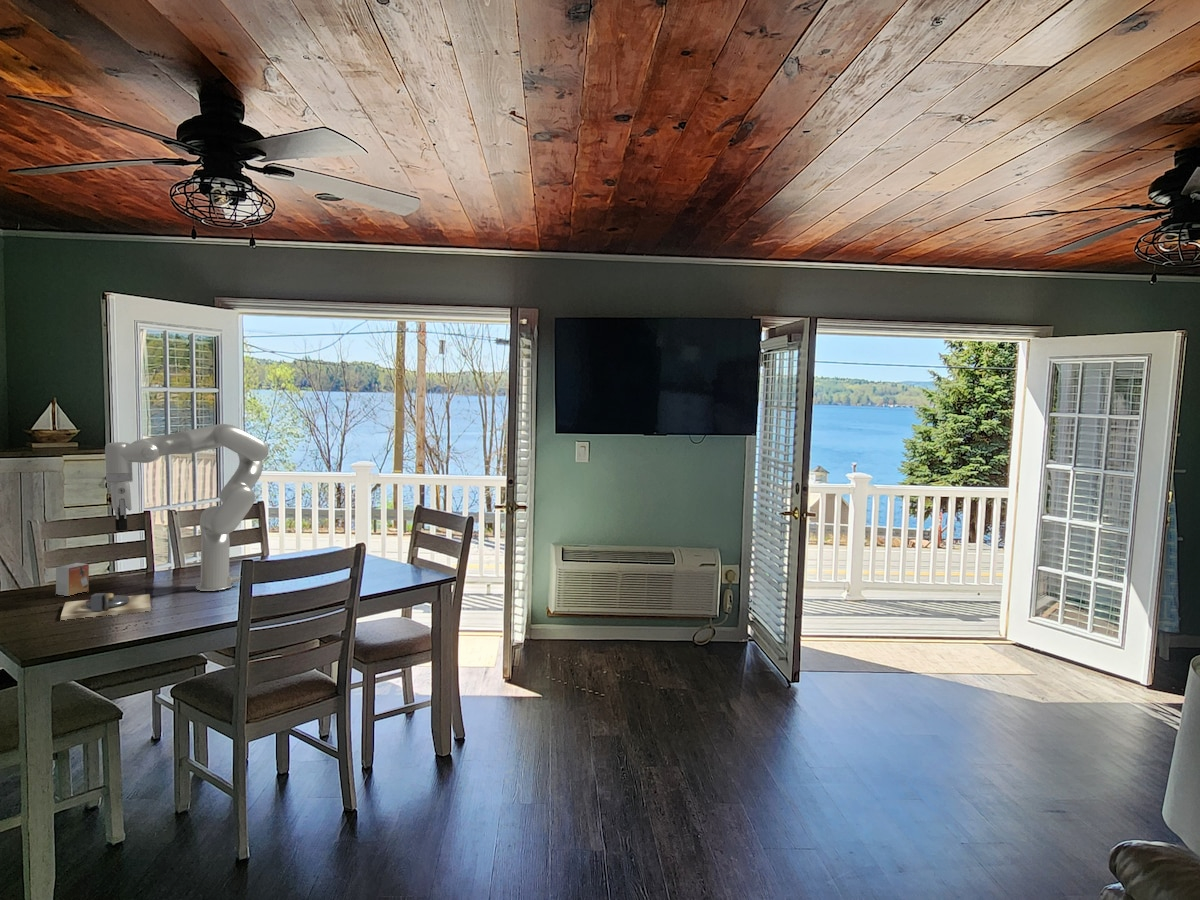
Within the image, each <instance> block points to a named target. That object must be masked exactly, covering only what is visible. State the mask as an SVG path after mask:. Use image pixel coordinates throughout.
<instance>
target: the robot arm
mask: <svg viewBox="0 0 1200 900" xmlns="http://www.w3.org/2000/svg"><path fill="white" fill-rule="evenodd" d="M220 447H224V448H227V449H229V450H230V451H232V452H234V453H235V454H237V456H238V458H239V460H238V461H239V463H238V467H237V469H236V470H235V472H234V473H233V475H232V476H231V477H230V479H229V480H228V481H227V483H226V484H225V486H224V487H223V488H222V489H221V490H220V493H219V494H220V495H219V498H220V501H221V505H220V506H219V505H212V506H209V507H207V508H205V509H204V510H203V511H202V512H201V514H200V517H199V529H200V530H199V531H200V543H201V544H200V545H201V546H200V547H201V549H200V584H198V585H196V586H195V590H196V589H197V590H200V591H215V590H222V589H226V588H229V587H232V586H233V585H234V583H240V582H239V580H240V577H241V576H231V574H230V547H231V546H230V544H231V543H230V534H231V533H232V532H234V531H235V530H236V529H237V528H238V526H240V524H241V523H242V521H243V520H244V518H245V517H246V516H247V514H248V513H249V511H250V510H251V509H252V507H253V505H254V503H255V499H256V495H255V491H254V490H253V488H254V487H255V486H256V484H257V482H258V481H259V479H260V477H261V475H262V473H263V464H264V463H263V460H265V459H266V458H267V457H268V455H269V451H270V449H269V447H268V445H267V443H266V442H265V441H263V440H262V439H260V438H258V437H256V436H254V435H252V434H250V433H248V432H246V431H245V430H243V429H241V428H239V427H237V426H235V425H233V424H226V423H218V424H214V425H208V426H204V427H199V428H198V427H197V428H194V429H188V430H183V431H177V432H173V433H168V434H163V435H157V436H153V437H152V436H151V437H148V438H142V439H138V440H134V441H133V442H131V443H129V442H123V441H121V442H118V441H117V442H109V443H107V444H105V446H104V458H105V460H104V461H105V480H106V481H105V482H106V484H110V497H111V498H110V499H111V506H112V507H111V508H112V509H113V511H114V512H115V519H114V520H115V521H114V523H115V525H114V527H115V530H116V532H119V531H127V530H128V518H127V510H128V511H132V508H133V507H132V494H131V485H130V483H133V479H134V478H133V463H140V464H141V463H142V464H148V463H152V462H154V461H156V460H157V459H158V458H159V457H163V456H170V455H189V454H195V453H198V452H203V451H208V450H212V449H218V448H220ZM233 587H234V586H233ZM197 590H196V591H197ZM200 591H199V592H200Z"/></svg>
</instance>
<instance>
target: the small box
mask: <svg viewBox="0 0 1200 900" xmlns="http://www.w3.org/2000/svg"><path fill="white" fill-rule="evenodd" d="M55 569H56V570H55V595H56V594H58V595H64V596H70V595H74V594H77V593H82V592H87V591H88V592H89V591H90V590H89V586H90V584H89V583H90V582H89V580H90V579H89V577H90V576H89V575H90V565H89V563H83V562H74V563H70V564H67V565H60V566H56V567H55ZM88 592H87V593H88ZM82 594H83V593H82ZM64 596H63V597H64ZM74 596H75V595H74ZM70 597H71V596H70Z"/></svg>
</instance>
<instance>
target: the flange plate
mask: <svg viewBox="0 0 1200 900" xmlns="http://www.w3.org/2000/svg"><path fill="white" fill-rule="evenodd" d="M104 595H106V592H102V593H100V592H99V593H98V592H97V593H96V592H95V593H94V594H92V595H91V596H90V598H89V599H87V600H88V601H86V606H87V607H89V608H91V611H102V610H103V609H104ZM128 596H129V595H120V594H113V600H109V601H108V608H109V607H115V606H120V605H124V604H126V603H128V602H129V597H128Z"/></svg>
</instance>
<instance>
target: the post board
mask: <svg viewBox="0 0 1200 900" xmlns="http://www.w3.org/2000/svg"><path fill="white" fill-rule="evenodd" d="M105 593H106V592H105ZM113 595H114V593H112V592H107V593H106V595H104V609H103V610H102V611H91V608H89V607H87V606H86V601H88V600H89V599H85V600H83V599H82V600H73V601H65V602H64V605H63V608H62V611H61V615H60V621H61V620H65V621H68V620H67V619H75V620H77V619H76V618H84V619H86V618H85V617H93V618H97V617H96V616H103V617H109V616H108V615H112V616H119V615H118V614H121V615H129V613H131V614H137V613H138V612H140V613H146V612H145V611H149V612H151V611H152V610H151V609H152V607H151V606H152V605H151V594H150V593H146V594H136V595H134V594H133V595H127V596H128V597H129V602H128V603H126V604H124V605H120V606H115V607H109V608H108V601H109V600H113ZM138 614H139V613H138ZM106 615H107V616H106Z"/></svg>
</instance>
